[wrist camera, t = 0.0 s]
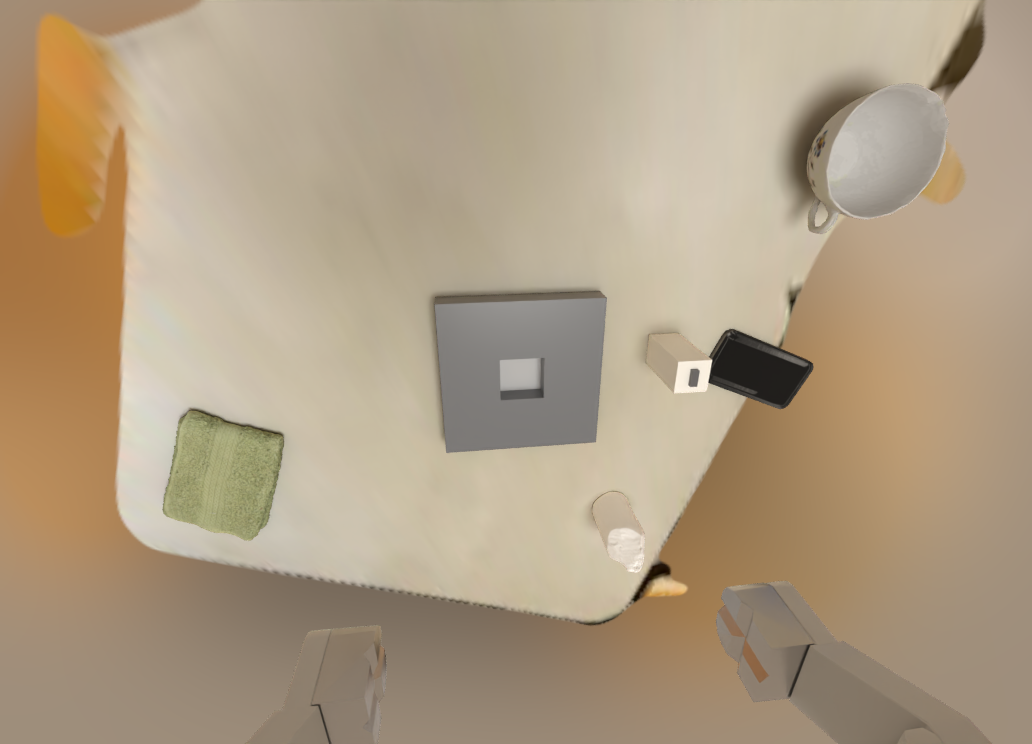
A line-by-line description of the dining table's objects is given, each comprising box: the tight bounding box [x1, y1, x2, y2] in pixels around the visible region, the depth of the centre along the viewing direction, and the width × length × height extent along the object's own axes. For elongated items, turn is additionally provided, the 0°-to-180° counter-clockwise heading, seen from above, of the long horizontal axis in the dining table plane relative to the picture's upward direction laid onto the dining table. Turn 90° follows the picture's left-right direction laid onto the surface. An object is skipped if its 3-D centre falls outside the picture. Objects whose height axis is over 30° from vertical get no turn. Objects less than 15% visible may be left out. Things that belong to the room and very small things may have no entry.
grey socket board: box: [435, 291, 607, 453], centre depth 60 cm, size 20×20×3 cm
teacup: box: [807, 83, 949, 234], centre depth 51 cm, size 15×12×8 cm
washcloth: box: [163, 411, 284, 541], centre depth 62 cm, size 13×18×3 cm
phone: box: [708, 329, 813, 409], centre depth 65 cm, size 8×1×15 cm
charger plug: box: [646, 333, 712, 393], centre depth 58 cm, size 4×4×10 cm
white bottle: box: [592, 492, 645, 572], centre depth 67 cm, size 6×12×6 cm
